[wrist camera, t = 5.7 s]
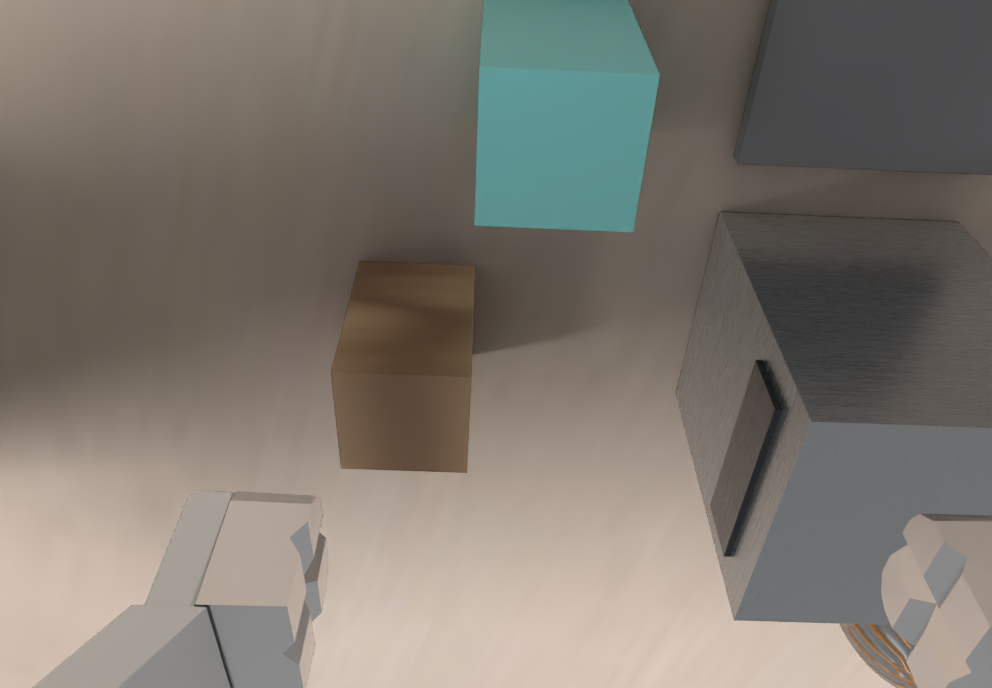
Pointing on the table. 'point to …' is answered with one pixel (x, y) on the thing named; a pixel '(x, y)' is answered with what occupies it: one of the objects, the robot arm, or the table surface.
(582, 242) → the table surface
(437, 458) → the walnut block
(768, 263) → the block
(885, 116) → the pad
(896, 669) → the vase
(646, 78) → the teal block
